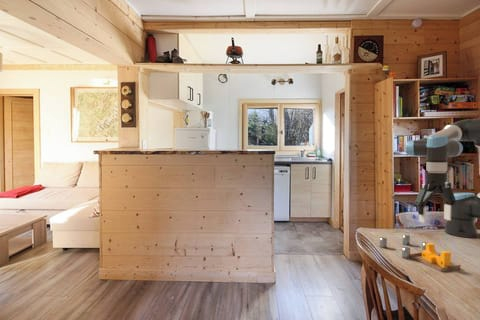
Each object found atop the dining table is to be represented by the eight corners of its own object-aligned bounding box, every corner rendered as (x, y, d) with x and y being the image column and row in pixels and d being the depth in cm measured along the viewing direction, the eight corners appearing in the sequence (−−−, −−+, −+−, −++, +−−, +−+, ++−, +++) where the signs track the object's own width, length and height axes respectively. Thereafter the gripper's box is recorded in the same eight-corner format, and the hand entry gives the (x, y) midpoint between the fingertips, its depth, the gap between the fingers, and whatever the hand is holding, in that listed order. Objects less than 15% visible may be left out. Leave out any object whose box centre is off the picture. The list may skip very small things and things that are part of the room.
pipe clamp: (421, 257, 137) (422, 243, 137) (431, 257, 137) (431, 243, 137) (440, 268, 125) (440, 253, 125) (450, 268, 125) (450, 252, 125)
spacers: (406, 243, 158) (406, 234, 157) (436, 255, 140) (436, 245, 140) (378, 246, 153) (378, 237, 153) (405, 259, 136) (406, 249, 136)
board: (427, 254, 141) (427, 251, 141) (460, 268, 126) (460, 265, 126) (409, 257, 138) (409, 254, 138) (441, 271, 123) (441, 268, 123)
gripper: (451, 170, 136) (449, 216, 138) (405, 172, 130) (404, 221, 131) (467, 171, 129) (465, 220, 131) (420, 174, 123) (418, 225, 124)
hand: (435, 220), depth 131 cm, fingers open, 13 cm apart
